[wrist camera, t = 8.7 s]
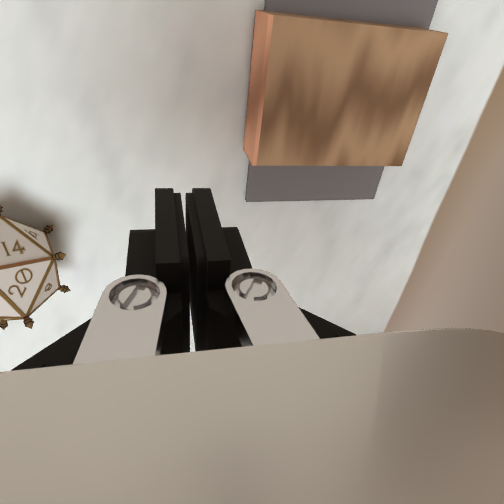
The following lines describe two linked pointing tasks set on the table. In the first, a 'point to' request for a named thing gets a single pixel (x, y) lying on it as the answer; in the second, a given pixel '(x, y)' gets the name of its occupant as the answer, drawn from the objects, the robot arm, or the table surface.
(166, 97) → the table surface
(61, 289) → the game die
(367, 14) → the mat
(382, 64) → the walnut slab
